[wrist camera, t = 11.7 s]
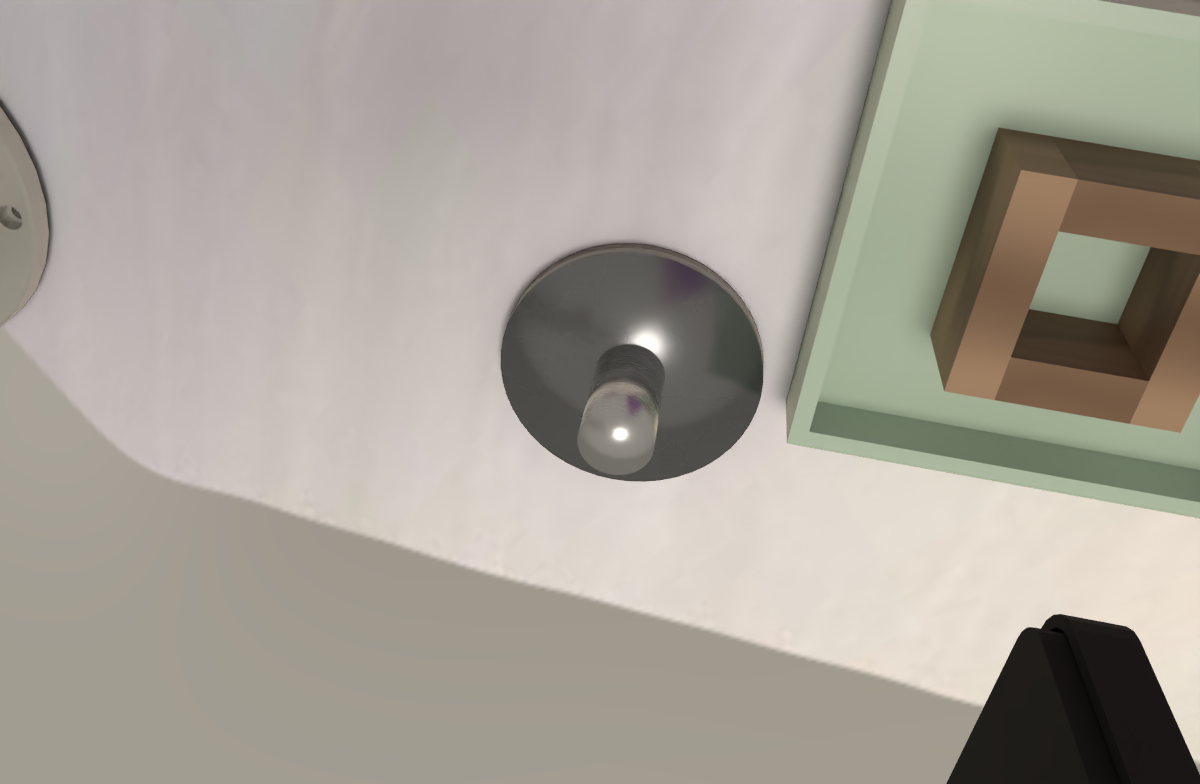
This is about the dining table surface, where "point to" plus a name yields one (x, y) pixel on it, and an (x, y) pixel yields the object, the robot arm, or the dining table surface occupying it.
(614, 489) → the dining table surface
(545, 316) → the peg on round base
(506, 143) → the dining table surface
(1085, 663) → the robot arm
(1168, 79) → the green rectangular frame
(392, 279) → the dining table surface
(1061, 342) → the wooden square frame
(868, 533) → the dining table surface
